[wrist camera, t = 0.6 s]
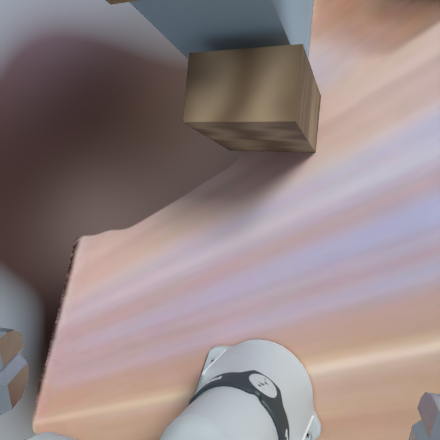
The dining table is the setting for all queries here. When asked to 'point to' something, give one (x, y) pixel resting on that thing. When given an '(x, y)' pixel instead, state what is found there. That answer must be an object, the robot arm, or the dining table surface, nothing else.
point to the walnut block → (254, 98)
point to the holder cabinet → (228, 23)
